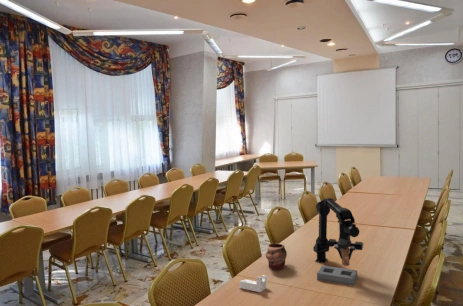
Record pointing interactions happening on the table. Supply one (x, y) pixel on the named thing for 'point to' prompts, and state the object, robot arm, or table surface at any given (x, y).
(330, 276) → the hole board
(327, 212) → the robot arm
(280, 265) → the decorative planter
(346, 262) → the pin
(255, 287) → the bracket
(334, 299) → the table surface
